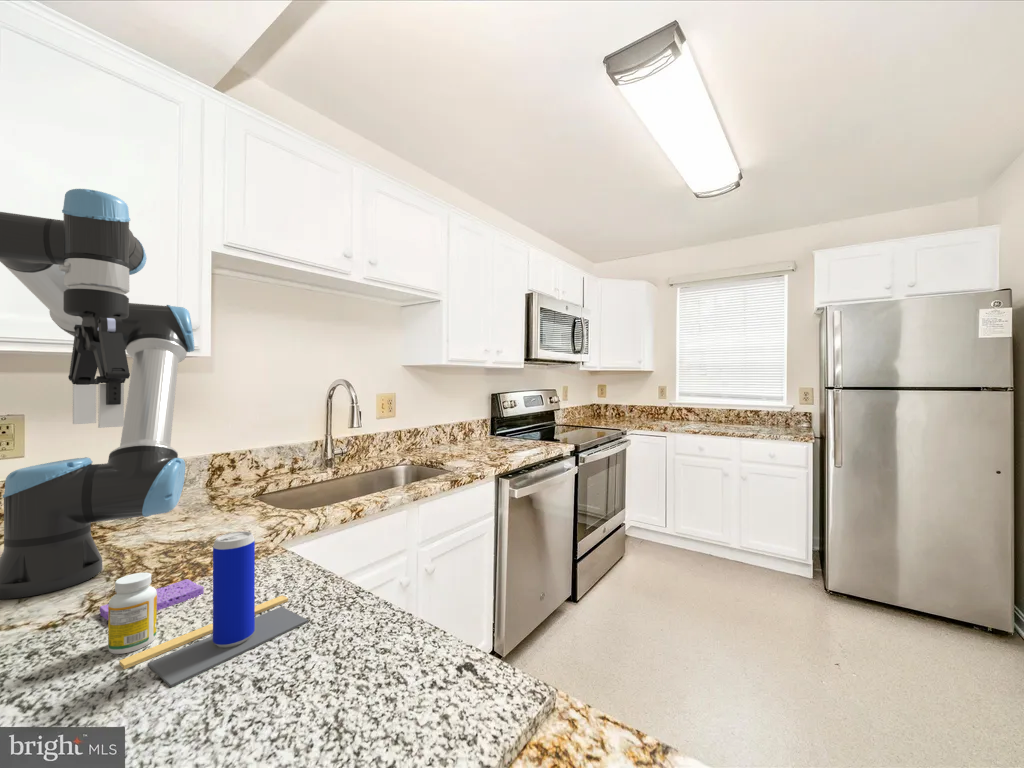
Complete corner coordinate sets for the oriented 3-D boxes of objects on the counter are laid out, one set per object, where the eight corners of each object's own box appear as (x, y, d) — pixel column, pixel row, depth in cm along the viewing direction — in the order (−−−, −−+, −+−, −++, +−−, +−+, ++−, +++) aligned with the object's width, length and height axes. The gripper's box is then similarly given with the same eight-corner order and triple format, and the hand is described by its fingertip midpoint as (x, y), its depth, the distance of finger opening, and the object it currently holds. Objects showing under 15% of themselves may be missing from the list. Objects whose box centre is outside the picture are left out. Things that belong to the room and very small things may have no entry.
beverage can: (246, 625, 67) (246, 528, 67) (260, 637, 64) (260, 535, 64) (207, 640, 63) (207, 537, 63) (220, 653, 60) (220, 545, 60)
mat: (147, 665, 58) (147, 663, 58) (281, 608, 73) (281, 606, 73) (170, 687, 53) (170, 685, 53) (308, 621, 68) (308, 619, 68)
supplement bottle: (134, 655, 60) (135, 586, 60) (96, 655, 60) (97, 586, 60) (166, 633, 66) (166, 570, 66) (131, 633, 66) (131, 570, 66)
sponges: (204, 597, 78) (204, 586, 78) (112, 629, 68) (112, 617, 68) (188, 587, 82) (188, 578, 82) (98, 617, 72) (98, 605, 72)
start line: (119, 664, 58) (119, 660, 58) (282, 598, 77) (282, 595, 77) (124, 669, 57) (124, 665, 57) (288, 601, 75) (288, 598, 75)
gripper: (44, 297, 72) (43, 423, 72) (88, 275, 59) (88, 430, 59) (104, 304, 79) (103, 420, 78) (156, 285, 65) (156, 426, 65)
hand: (97, 425), depth 69 cm, fingers open, 13 cm apart
